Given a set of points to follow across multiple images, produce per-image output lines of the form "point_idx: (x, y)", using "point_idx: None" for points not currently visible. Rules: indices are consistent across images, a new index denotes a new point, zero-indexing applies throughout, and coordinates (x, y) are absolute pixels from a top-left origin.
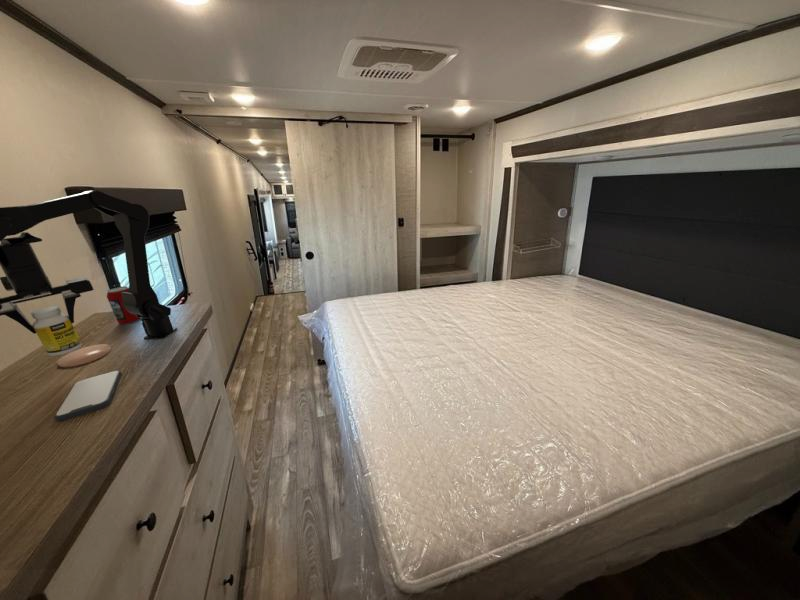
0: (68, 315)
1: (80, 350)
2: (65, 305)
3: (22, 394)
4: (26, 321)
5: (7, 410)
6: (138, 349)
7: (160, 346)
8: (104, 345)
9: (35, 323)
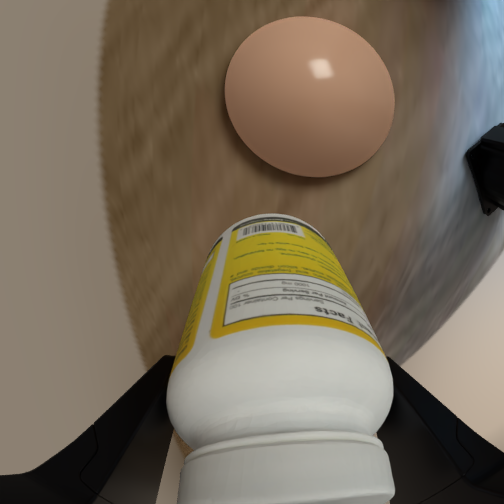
0: (382, 435)
1: (308, 35)
2: (424, 485)
3: (138, 248)
4: (157, 482)
5: (127, 308)
6: (427, 224)
7: (453, 264)
8: (382, 80)
9: (193, 448)
